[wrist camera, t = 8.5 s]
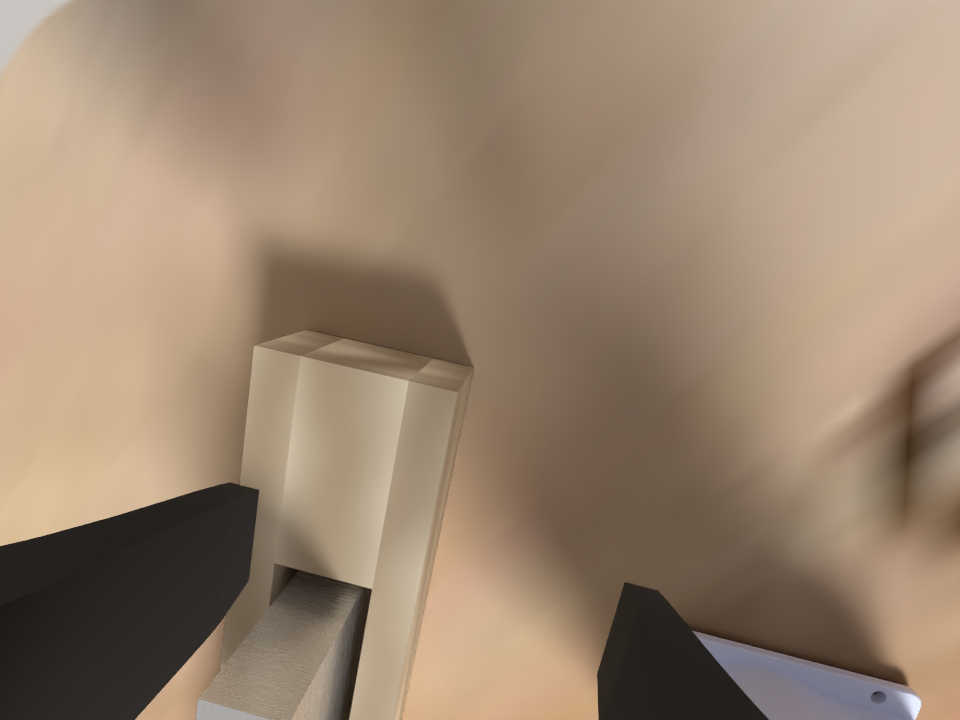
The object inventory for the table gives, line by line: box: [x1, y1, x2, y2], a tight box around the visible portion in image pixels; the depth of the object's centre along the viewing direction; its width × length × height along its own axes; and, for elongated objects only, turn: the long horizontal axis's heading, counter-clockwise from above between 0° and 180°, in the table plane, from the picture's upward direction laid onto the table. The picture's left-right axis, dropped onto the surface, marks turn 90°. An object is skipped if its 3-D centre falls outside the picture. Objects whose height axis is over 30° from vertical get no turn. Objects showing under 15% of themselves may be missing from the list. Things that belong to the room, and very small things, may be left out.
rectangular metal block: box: [196, 570, 372, 720], centre depth 17 cm, size 2×6×8 cm, turn 169°
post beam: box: [220, 330, 474, 720], centre depth 19 cm, size 6×22×4 cm, turn 169°
